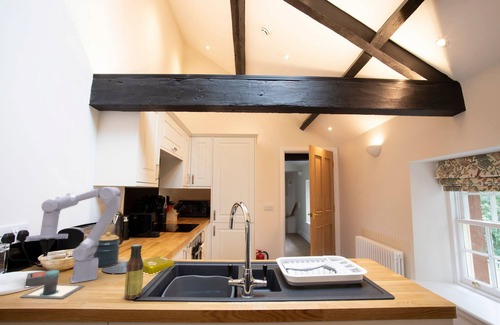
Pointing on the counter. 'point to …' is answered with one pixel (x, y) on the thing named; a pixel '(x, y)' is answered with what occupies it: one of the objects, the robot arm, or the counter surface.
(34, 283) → the button housing
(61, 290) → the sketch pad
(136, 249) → the sauce bottle
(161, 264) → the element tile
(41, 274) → the button
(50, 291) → the dark piece
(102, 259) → the canister
